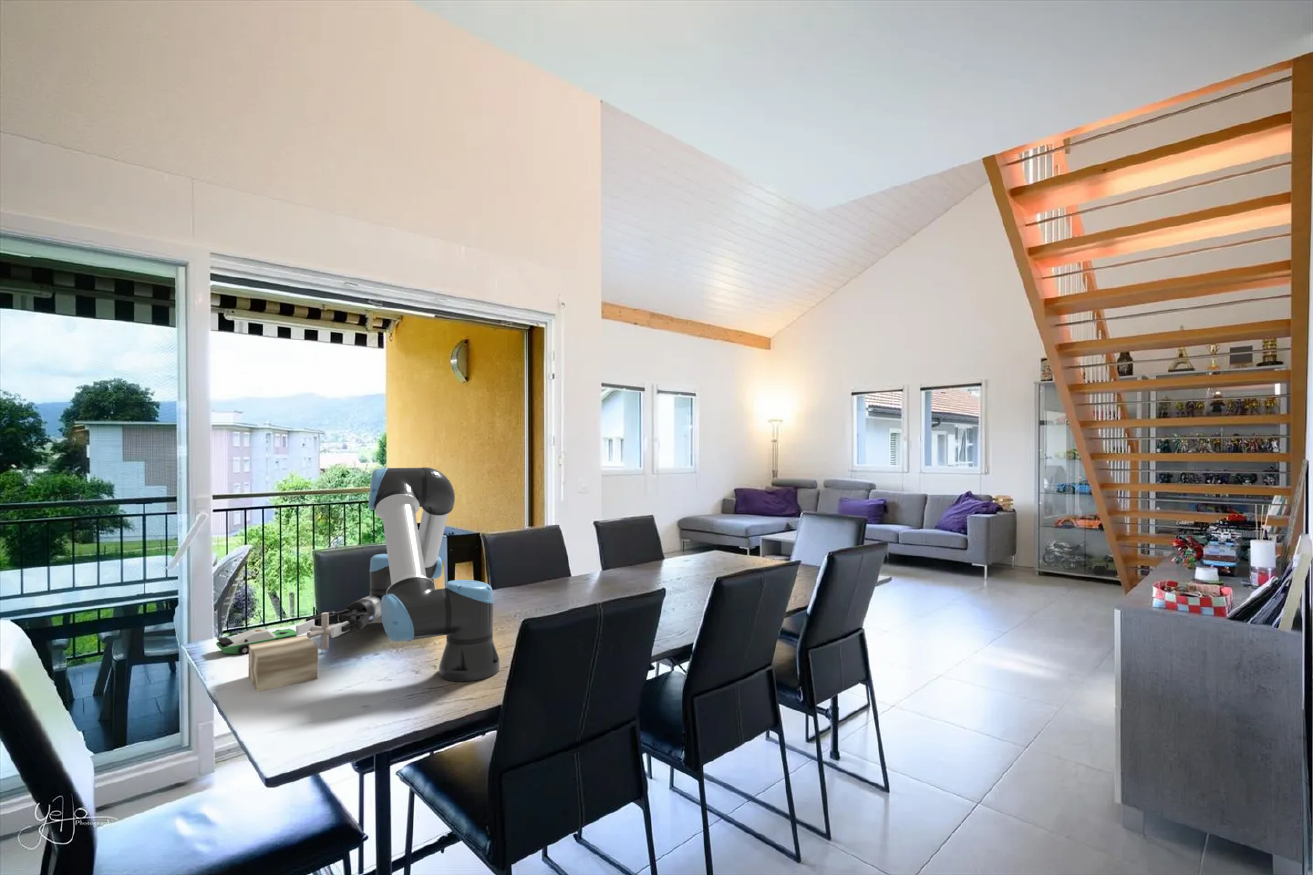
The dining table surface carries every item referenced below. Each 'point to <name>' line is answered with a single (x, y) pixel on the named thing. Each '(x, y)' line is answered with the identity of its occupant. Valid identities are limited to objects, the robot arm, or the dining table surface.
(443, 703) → the dining table surface
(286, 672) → the birch block
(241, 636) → the toy car
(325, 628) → the pipe connector
